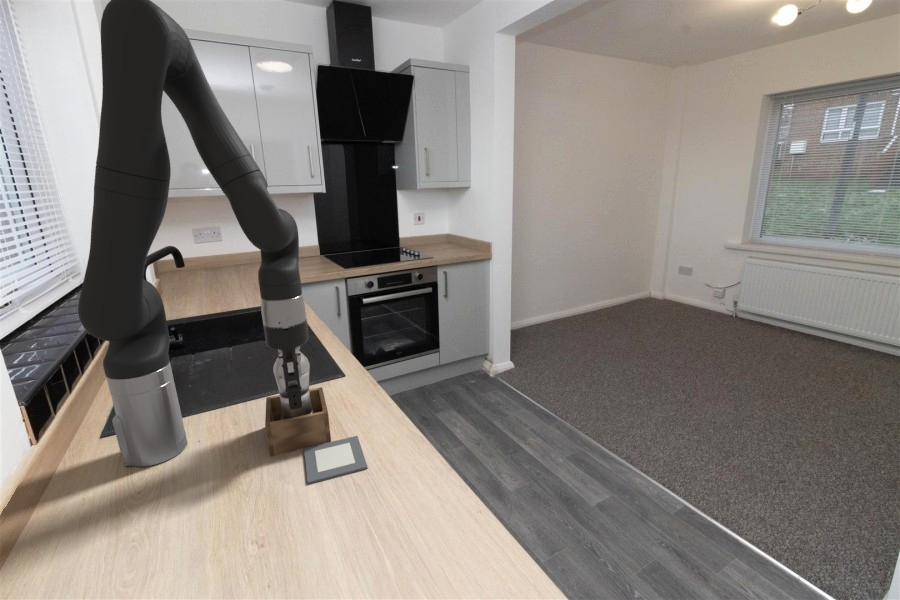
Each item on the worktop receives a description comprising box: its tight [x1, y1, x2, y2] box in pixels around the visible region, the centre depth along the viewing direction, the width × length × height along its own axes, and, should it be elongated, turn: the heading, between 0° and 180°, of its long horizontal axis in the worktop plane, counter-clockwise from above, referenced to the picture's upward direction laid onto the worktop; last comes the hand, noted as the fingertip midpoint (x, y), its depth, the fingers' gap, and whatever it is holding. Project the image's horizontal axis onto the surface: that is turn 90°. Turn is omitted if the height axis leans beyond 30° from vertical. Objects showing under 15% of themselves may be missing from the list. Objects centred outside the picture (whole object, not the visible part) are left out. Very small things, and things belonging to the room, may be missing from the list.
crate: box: [264, 386, 332, 457], centre depth 82 cm, size 11×11×6 cm
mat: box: [303, 435, 369, 485], centre depth 75 cm, size 10×10×1 cm
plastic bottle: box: [272, 346, 314, 420], centre depth 80 cm, size 6×7×20 cm
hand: (295, 397), depth 80 cm, fingers open, 7 cm apart
